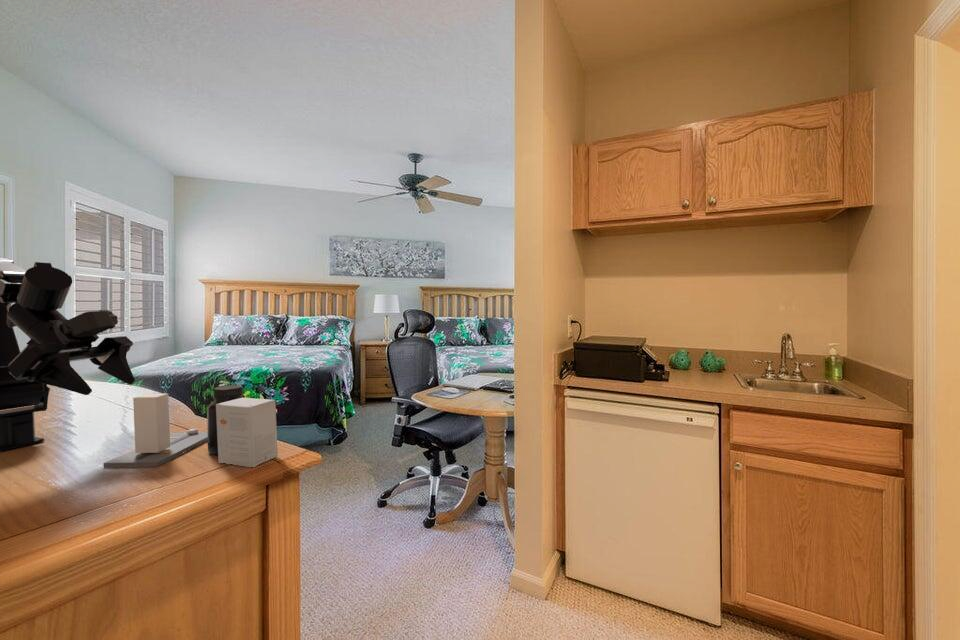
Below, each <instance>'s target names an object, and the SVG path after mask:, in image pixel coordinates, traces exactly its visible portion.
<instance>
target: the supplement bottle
mask: <svg viewBox="0 0 960 640" xmlns="http://www.w3.org/2000/svg"><path fill="white" fill-rule="evenodd" d="M243 392H244V387H243V385H237V384H234V385H232V384H230V385H221V386H216V387H214V388H213V395H212V398H213V399H214V400H213V401H212V402H211V403H210V404H209V405H208V406H207V411H206V415H207V417H206V419H207V420H206V421H207V423H206V425H207V428H206V429H207V431H206V432H208V441H207V451H208V453H209V454H211V455H212V456H218V441H217V419H216V404H219V403H223V402H227V401H231V400H235V399H239V398H243V396H244V393H243Z"/></svg>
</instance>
